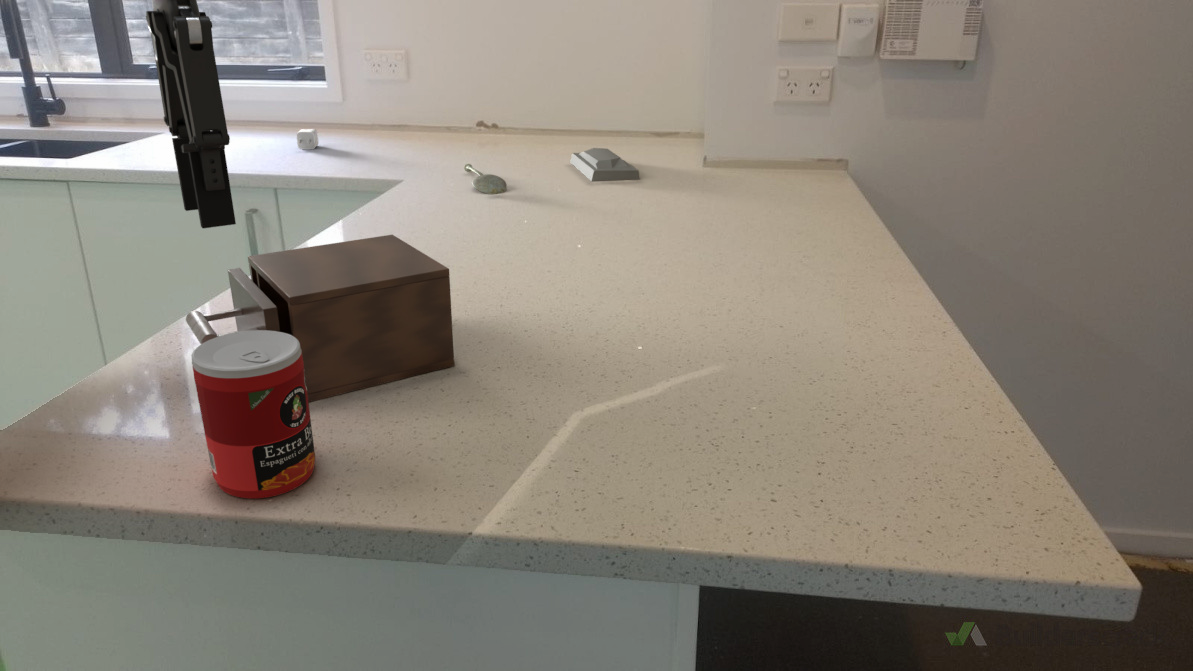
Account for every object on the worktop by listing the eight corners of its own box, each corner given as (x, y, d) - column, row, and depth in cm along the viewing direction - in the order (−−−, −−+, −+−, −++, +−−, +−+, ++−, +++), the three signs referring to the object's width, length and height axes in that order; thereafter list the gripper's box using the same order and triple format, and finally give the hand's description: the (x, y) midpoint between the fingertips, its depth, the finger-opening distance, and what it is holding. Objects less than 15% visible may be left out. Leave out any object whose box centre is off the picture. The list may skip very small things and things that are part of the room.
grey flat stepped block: (591, 181, 171) (591, 164, 169) (569, 162, 189) (569, 146, 187) (639, 179, 173) (640, 162, 172) (613, 160, 191) (614, 145, 190)
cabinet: (303, 403, 79) (289, 297, 75) (261, 351, 90) (247, 256, 86) (454, 366, 87) (449, 268, 83) (399, 322, 98) (392, 234, 94)
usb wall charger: (318, 145, 203) (316, 129, 201) (313, 151, 197) (311, 133, 195) (301, 145, 202) (299, 129, 201) (295, 151, 196) (293, 133, 195)
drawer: (219, 412, 75) (202, 320, 72) (188, 360, 85) (173, 278, 82) (422, 363, 85) (416, 281, 82) (373, 322, 95) (366, 247, 92)
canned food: (274, 510, 63) (253, 377, 59) (190, 488, 65) (164, 359, 61) (337, 460, 69) (322, 338, 65) (259, 442, 72) (240, 323, 68)
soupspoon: (476, 198, 158) (510, 198, 160) (476, 181, 157) (510, 180, 159) (453, 171, 177) (483, 171, 179) (453, 155, 175) (484, 155, 178)
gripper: (242, -70, 61) (282, 235, 70) (188, -61, 76) (227, 190, 85) (127, -76, 57) (185, 249, 66) (94, -65, 72) (145, 199, 81)
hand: (209, 216), depth 75 cm, fingers open, 6 cm apart
